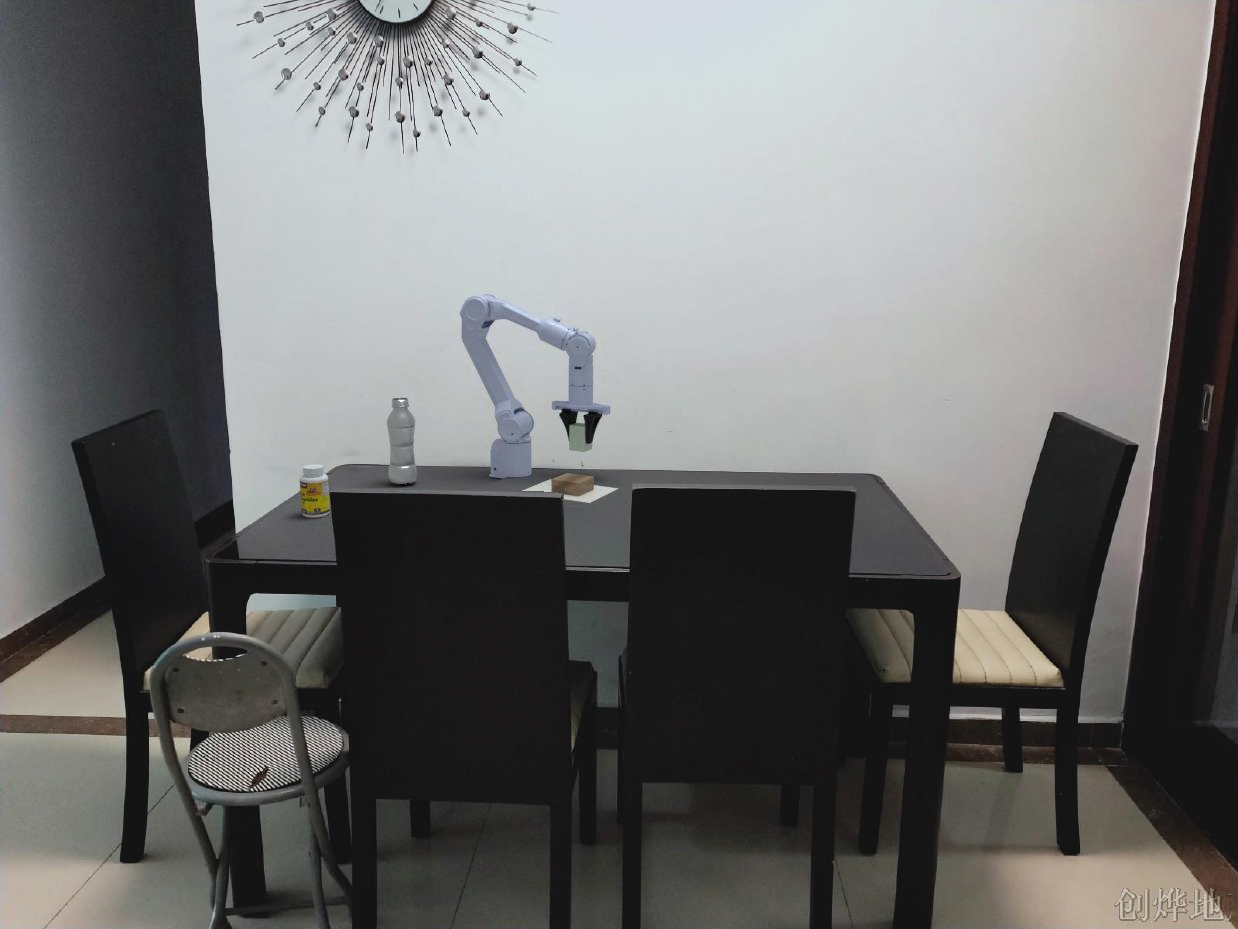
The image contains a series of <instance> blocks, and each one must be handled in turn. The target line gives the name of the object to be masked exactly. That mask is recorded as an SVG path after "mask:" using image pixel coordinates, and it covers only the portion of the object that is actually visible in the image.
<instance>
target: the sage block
mask: <svg viewBox="0 0 1238 929" xmlns="http://www.w3.org/2000/svg"><path fill="white" fill-rule="evenodd" d="M568 442H569V444H568V445H569V451H570V452H572V451H573V452H580V453H586V452H588V451H591V450H593V442H592V443H590V444H586V428H585V422H576V423H575V424H572V425H570V429H569V440H568Z"/></svg>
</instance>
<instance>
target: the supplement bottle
mask: <svg viewBox="0 0 1238 929" xmlns="http://www.w3.org/2000/svg"><path fill="white" fill-rule="evenodd" d="M302 470H303V471H302V475H301V476H300V477H299V491H300V492H299V493H300V505H301V506H300V509H301V515H302V516H303V517H305V518H309V519H312V518H322V517H323V518H324V517H326V516H328V515H329V514H330V512H331V506H330V489H329V488H330V487H329V486H330V485H329V477H328V475H327V474H325V472H324V470H325V469H324V465H322V464H318V463H317V464H307V465H304V466H303V467H302Z"/></svg>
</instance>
